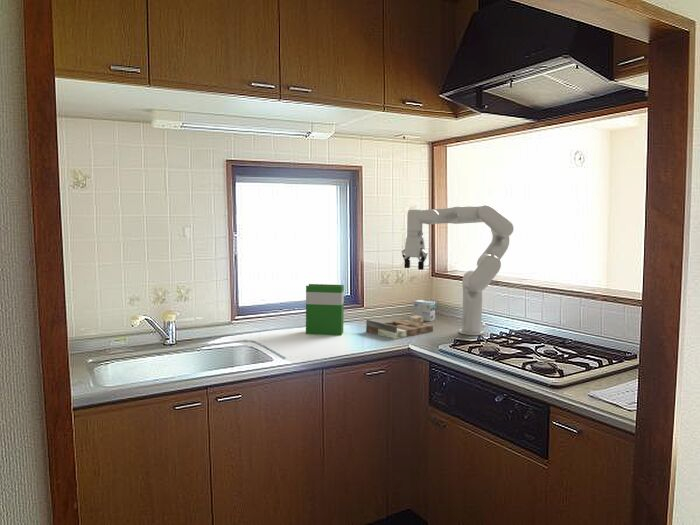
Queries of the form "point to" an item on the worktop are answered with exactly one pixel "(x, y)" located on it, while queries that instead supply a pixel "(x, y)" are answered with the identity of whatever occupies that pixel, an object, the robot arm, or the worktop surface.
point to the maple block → (416, 320)
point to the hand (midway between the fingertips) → (413, 268)
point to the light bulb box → (425, 309)
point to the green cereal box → (324, 309)
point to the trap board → (396, 328)
